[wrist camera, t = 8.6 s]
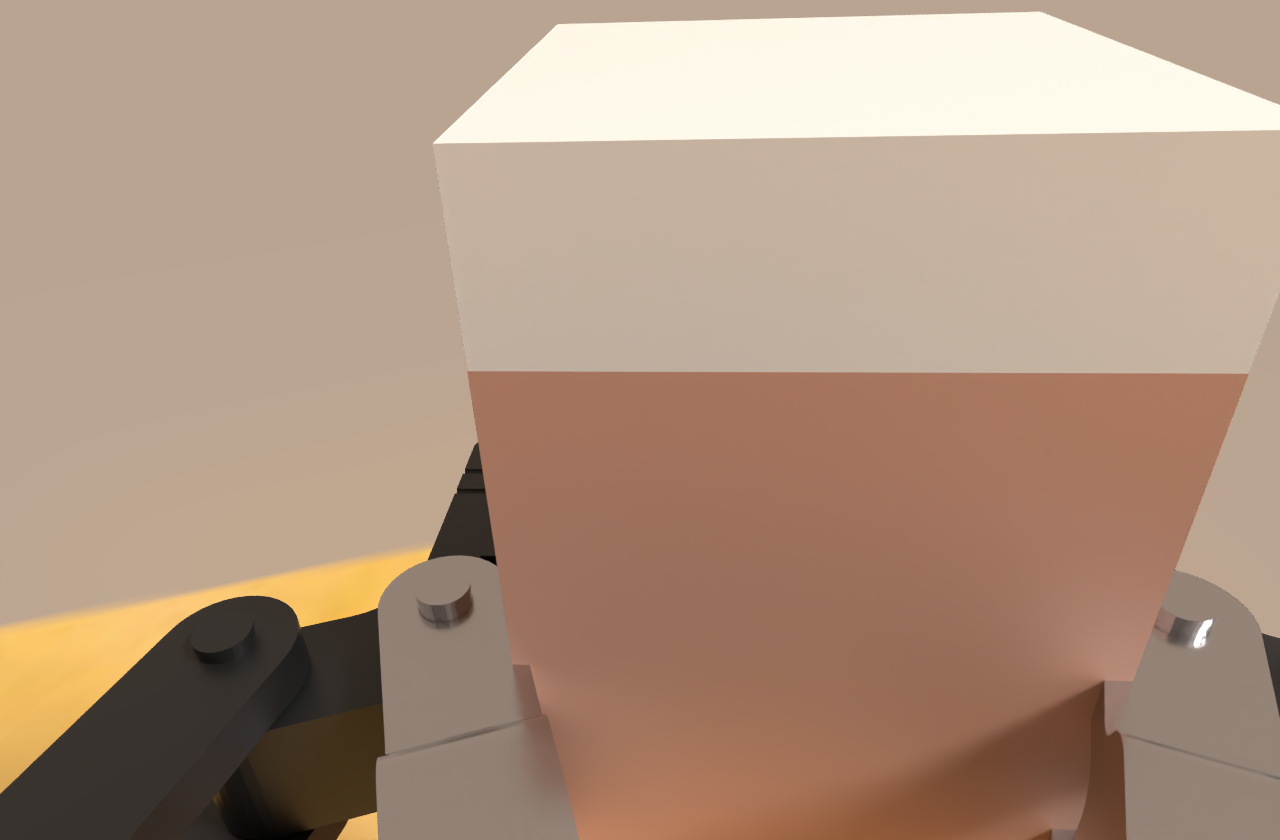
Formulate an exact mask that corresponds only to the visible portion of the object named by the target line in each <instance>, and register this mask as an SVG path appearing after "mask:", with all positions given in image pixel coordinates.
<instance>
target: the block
mask: <svg viewBox="0 0 1280 840" xmlns="http://www.w3.org/2000/svg"><path fill="white" fill-rule="evenodd" d="M433 149H434V156H435V163H436V169H437V176H438V183H439V189H440V195H441V202H442V209H443V215H444V221H445V228H446V234H447V241H448V248H449V254H450V261H451V267H452V274H453V280H454V287H455V294H456V300H457V307H458V313H459V320H460V326H461V333H462V339H463V346H464V352H465V359H466V365H467V371H468V378H469V385H470V391H471V397H472V405H473V411H474V418H475V424H476V430H477V437H478V444H479V450H480V457H481V463H482V470H483V476H484V483H485V489H486V496H487V502H488V509H489V516H490V522H491V529H492V535H493V542H494V548H495V555H496V561H497V568H498V574H499V581H500V587H501V594H502V600H503V607H504V613H505V620H506V627H507V633H508V640H509V646H510V653H511V659H512V664H516V665H530V668H531V672H532V676H533V680H534V684H535V688H536V692H537V696H538V700H539V704H540V708H541V712H542V714H546V715H547V717H548V720H549V723H550V727H551V730H552V734H553V738H554V742H555V746H556V750H557V753H558V757H559V761H560V765H561V769H562V773H563V777H564V781H565V785H566V789H567V793H568V796H569V800H570V804H571V808H572V812H573V816H574V820H575V824H576V828H577V832H578V836H579V839H580V840H1048V839H1049V836H1050V834H1051V831H1052V829H1060V830H1077V827H1078V825H1079V822H1080V820H1081V817H1082V814H1083V810H1084V806H1085V802H1086V797H1087V792H1088V785H1089V778H1090V766H1091V717H1092V714H1093V711H1094V709H1095V706H1096V703H1097V700H1098V697H1099V694H1100V692H1101V689H1102V686H1103V683H1104V681H1133V679H1134V676H1135V674H1136V671H1137V669H1138V666H1139V663H1140V661H1141V658H1142V655H1143V653H1144V650H1145V647H1146V645H1147V642H1148V639H1149V637H1150V634H1151V631H1152V629H1153V626H1154V623H1155V621H1156V618H1157V616H1158V613H1159V610H1160V608H1161V605H1162V602H1163V600H1164V597H1165V594H1166V592H1167V589H1168V586H1169V584H1170V581H1171V578H1172V576H1173V573H1174V570H1175V568H1176V565H1177V563H1178V560H1179V557H1180V555H1181V552H1182V549H1183V547H1184V544H1185V541H1186V539H1187V536H1188V533H1189V531H1190V528H1191V525H1192V523H1193V520H1194V517H1195V515H1196V512H1197V509H1198V507H1199V504H1200V501H1201V499H1202V496H1203V494H1204V491H1205V488H1206V486H1207V483H1208V480H1209V478H1210V475H1211V472H1212V470H1213V467H1214V464H1215V462H1216V459H1217V456H1218V454H1219V451H1220V448H1221V446H1222V443H1223V440H1224V438H1225V435H1226V432H1227V430H1228V427H1229V425H1230V422H1231V419H1232V417H1233V414H1234V411H1235V409H1236V406H1237V403H1238V401H1239V398H1240V396H1241V393H1242V390H1243V388H1244V385H1245V382H1246V380H1247V377H1248V374H1249V372H1250V369H1251V366H1252V364H1253V361H1254V358H1255V356H1256V353H1257V351H1258V348H1259V345H1260V343H1261V340H1262V337H1263V335H1264V332H1265V329H1266V327H1267V324H1268V321H1269V319H1270V316H1271V313H1272V311H1273V308H1274V305H1275V303H1276V300H1277V298H1278V295H1279V292H1280V105H1278V104H1276V103H1273V102H1270V101H1268V100H1265V99H1263V98H1260V97H1258V96H1255V95H1252V94H1250V93H1247V92H1245V91H1242V90H1240V89H1237V88H1235V87H1232V86H1229V85H1227V84H1224V83H1222V82H1219V81H1217V80H1214V79H1212V78H1209V77H1206V76H1204V75H1201V74H1199V73H1196V72H1193V71H1191V70H1189V69H1186V68H1183V67H1181V66H1178V65H1176V64H1173V63H1171V62H1168V61H1165V60H1163V59H1160V58H1158V57H1155V56H1153V55H1150V54H1147V53H1145V52H1142V51H1140V50H1137V49H1135V48H1132V47H1129V46H1127V45H1124V44H1122V43H1119V42H1117V41H1114V40H1112V39H1109V38H1106V37H1104V36H1101V35H1098V34H1096V33H1094V32H1091V31H1089V30H1086V29H1083V28H1081V27H1078V26H1075V25H1073V24H1070V23H1068V22H1065V21H1063V20H1060V19H1058V18H1055V17H1053V16H1050V15H1048V14H1045V13H1042V12H1018V13H1017V12H1016V13H978V14H977V13H976V14H938V15H898V16H861V17H823V18H822V17H821V18H783V19H749V20H748V19H746V20H708V21H707V20H705V21H668V22H667V21H666V22H631V23H629V22H628V23H590V24H558V25H557V26H555V27H554V28H553V29H552V30H551V31H550V32H549V33H548V34H547V35H546V36H545V37H544V38H543V39H542V40H541V41H540V42H539V43H538V44H537V45H535V46H534V47H533V48H532V49H531V50H530V51H529V52H528V53H527V54H526V55H525V56H524V57H523V58H522V59H521V60H520V61H519V62H518V63H517V64H516V65H514V66H513V68H511V69H510V70H509V71H508V72H507V73H506V74H505V75H504V76H503V77H502V78H501V79H500V80H499V81H498V82H497V83H496V84H495V85H494V86H492V87H491V89H489V90H488V91H487V92H486V93H485V94H484V95H483V96H482V97H481V98H480V99H479V100H478V101H477V102H476V103H475V104H474V105H473V106H471V107H470V108H469V109H468V110H467V111H466V112H465V113H464V114H463V115H462V116H461V117H460V118H459V119H458V120H457V121H456V122H455V123H454V124H453V125H452V126H451V127H450V128H448V129H447V130H446V131H445V132H444V133H443V134H442V135H441V136H440V137H439V138H438V139H437V140H436V141H435V142H434V143H433Z"/></svg>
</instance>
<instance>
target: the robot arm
mask: <svg viewBox="0 0 1280 840" xmlns="http://www.w3.org/2000/svg"><path fill="white" fill-rule="evenodd" d="M374 812H377V819H378V840H580V839H579V836H578V832H577V828H576V824H575V820H574V816H573V812H572V808H571V804H570V800H569V796H568V793H567V789H566V785H565V781H564V777H563V773H562V769H561V765H560V761H559V757H558V753H557V750H556V746H555V742H554V738H553V734H552V730H551V727H550V723H549V720H548V717H547V715H546V714H542V712H541V708H540V704H539V700H538V696H537V692H536V688H535V684H534V680H533V676H532V672H531V668H530V665H516V664H512V659H511V653H510V646H509V640H508V633H507V627H506V620H505V613H504V607H503V600H502V594H501V587H500V581H499V574H498V568H497V561H496V555H495V548H494V542H493V535H492V529H491V522H490V516H489V509H488V502H487V496H486V489H485V483H484V476H483V470H482V463H481V457H480V450H479V444H478V443H477V444H476V445H475V446H474V448H473V451H472V453H471V456H470V458H469V461H468V463H467V465H466V468H465V474H463V475H462V478H461V480H460V483H459V485H458V488H457V494H455V495H454V497H453V500H452V502H451V505H450V507H449V510H448V512H447V514H446V517H445V519H444V522H443V524H442V527H441V529H440V532H439V534H438V536H437V539H436V541H435V544H434V546H433V549H432V551H431V553H430V556H429V558H428V561H425V562H422V563H420V564H417V565H415V566H413V567H412V568H410V569H408V570H406V571H405V572H403V573H402V574H400V575H399V576H398V577H397V578H395V579H394V580H393V581H392V582H391V583H390V584H389V586H388V587H387V588H386V589H385V591H384V593H383V594H382V596H381V598H380V602H379V605H378V608H377V609H374V610H371V611H369V612H366V613H363V614H359V615H355V616H351V617H347V618H342V619H338V620H333V621H328V622H324V623H319V624H315V625H310V626H305V627H301V628H300V625H299V622H298V619H297V616H296V614H295V612H294V611H293V609H292V608H291V607H290V606H288V605H287V604H286V603H284V602H282V601H280V600H278V599H274V598H271V597H265V596H244V597H237V598H232V599H228V600H224V601H221V602H218V603H215V604H212V605H210V606H208V607H205V608H203V609H201V610H199V611H197V612H195V613H194V614H192V615H190V616H189V617H187V618H186V619H184V620H183V621H181V622H180V623H179V624H178V625H176V626H175V627H174V628H173V629H172V630H171V631H170V632H169V633H168V634H166V635H165V636H164V637H163V638H162V639H161V640H160V641H159V642H158V643H157V644H156V645H155V646H154V647H153V648H152V649H151V650H150V651H149V652H148V653H147V654H146V655H145V656H144V657H143V658H142V659H140V660H139V661H138V662H137V663H136V664H135V665H134V666H133V667H132V668H131V669H130V670H129V671H128V672H127V673H126V674H125V675H124V676H123V677H122V678H121V679H120V680H119V681H118V682H117V683H115V684H114V685H113V686H112V687H111V688H110V689H109V690H108V691H107V692H106V693H105V694H104V695H103V696H102V697H101V698H100V699H99V700H98V701H97V702H96V703H95V704H94V705H93V706H92V707H91V708H89V709H88V710H87V711H86V712H85V713H84V714H83V715H82V716H81V717H80V718H79V719H78V720H77V721H76V722H75V723H74V724H73V725H72V726H71V727H70V728H69V729H68V730H67V731H66V732H64V733H63V734H62V735H61V736H60V737H59V738H58V739H57V740H56V741H55V742H54V743H53V744H52V745H51V746H50V747H49V748H48V749H47V750H46V751H45V752H44V753H43V754H42V755H41V756H40V757H38V758H37V759H36V760H35V761H34V762H33V763H32V764H31V765H30V766H29V767H28V768H27V769H26V770H25V771H24V772H23V773H22V774H21V775H20V776H19V777H18V778H17V779H16V780H15V781H13V782H12V783H11V784H10V785H9V786H8V787H7V788H6V789H5V790H4V791H3V792H2V793H1V794H0V840H336V839H337V838H338V836H339V835H340V833H341V832H342V830H343V828H344V827H345V825H346V823H347V821H348V819H352V818H355V817H359V816H363V815H367V814H370V813H374ZM1048 840H1280V638H1276V637H1273V636H1269V635H1266V634H1263V633H1261V630H1260V627H1259V624H1258V623H1257V621H1256V619H1255V618H1254V616H1253V615H1252V614H1251V613H1250V611H1249V610H1248V609H1247V608H1246V607H1245V606H1244V605H1243V604H1242V603H1241V602H1239V600H1237V599H1236V598H1235V597H1233V596H1232V595H1231V594H1229V593H1228V592H1226V591H1225V590H1223V589H1221V588H1220V587H1218V586H1216V585H1214V584H1212V583H1210V582H1208V581H1206V580H1203V579H1201V578H1198V577H1195V576H1193V575H1190V574H1186V573H1183V572H1179V571H1176V570H1174V573H1173V576H1172V578H1171V581H1170V584H1169V586H1168V589H1167V592H1166V594H1165V597H1164V600H1163V602H1162V605H1161V608H1160V610H1159V613H1158V616H1157V618H1156V621H1155V623H1154V626H1153V629H1152V631H1151V634H1150V637H1149V639H1148V642H1147V645H1146V647H1145V650H1144V653H1143V655H1142V658H1141V661H1140V663H1139V666H1138V669H1137V671H1136V674H1135V676H1134V679H1133V681H1104V683H1103V686H1102V689H1101V692H1100V694H1099V697H1098V700H1097V703H1096V706H1095V709H1094V711H1093V714H1092V717H1091V766H1090V778H1089V785H1088V792H1087V797H1086V802H1085V806H1084V810H1083V814H1082V817H1081V820H1080V822H1079V825H1078V827H1077V830H1060V829H1052V831H1051V834H1050V836H1049V839H1048Z"/></svg>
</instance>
